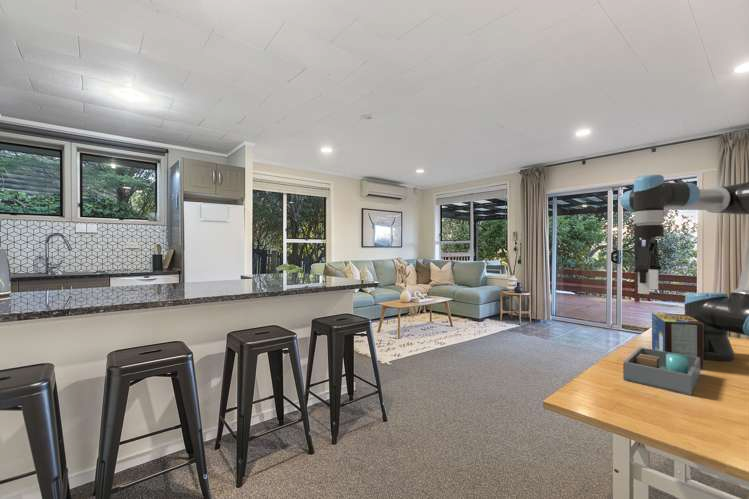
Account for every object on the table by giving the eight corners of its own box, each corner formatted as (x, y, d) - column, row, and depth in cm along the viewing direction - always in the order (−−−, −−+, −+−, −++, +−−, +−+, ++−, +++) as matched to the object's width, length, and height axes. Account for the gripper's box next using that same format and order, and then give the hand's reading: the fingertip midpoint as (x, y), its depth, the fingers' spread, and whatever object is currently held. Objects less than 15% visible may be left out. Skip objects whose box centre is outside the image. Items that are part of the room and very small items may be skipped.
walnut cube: (640, 368, 116) (640, 353, 116) (659, 372, 113) (659, 357, 113) (636, 372, 113) (636, 357, 113) (656, 376, 109) (656, 360, 109)
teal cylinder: (692, 381, 105) (692, 358, 105) (677, 382, 105) (677, 359, 105) (676, 375, 110) (676, 353, 110) (661, 376, 110) (661, 353, 110)
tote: (639, 363, 123) (639, 347, 123) (700, 375, 112) (700, 357, 112) (623, 380, 109) (623, 362, 109) (690, 395, 97) (690, 375, 97)
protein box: (686, 356, 130) (686, 314, 130) (703, 369, 116) (704, 323, 116) (651, 352, 135) (651, 312, 134) (664, 365, 121) (664, 320, 120)
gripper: (642, 226, 123) (642, 286, 123) (623, 224, 106) (623, 294, 107) (670, 225, 117) (670, 288, 118) (655, 223, 101) (655, 297, 101)
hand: (648, 291), depth 112 cm, fingers open, 13 cm apart
